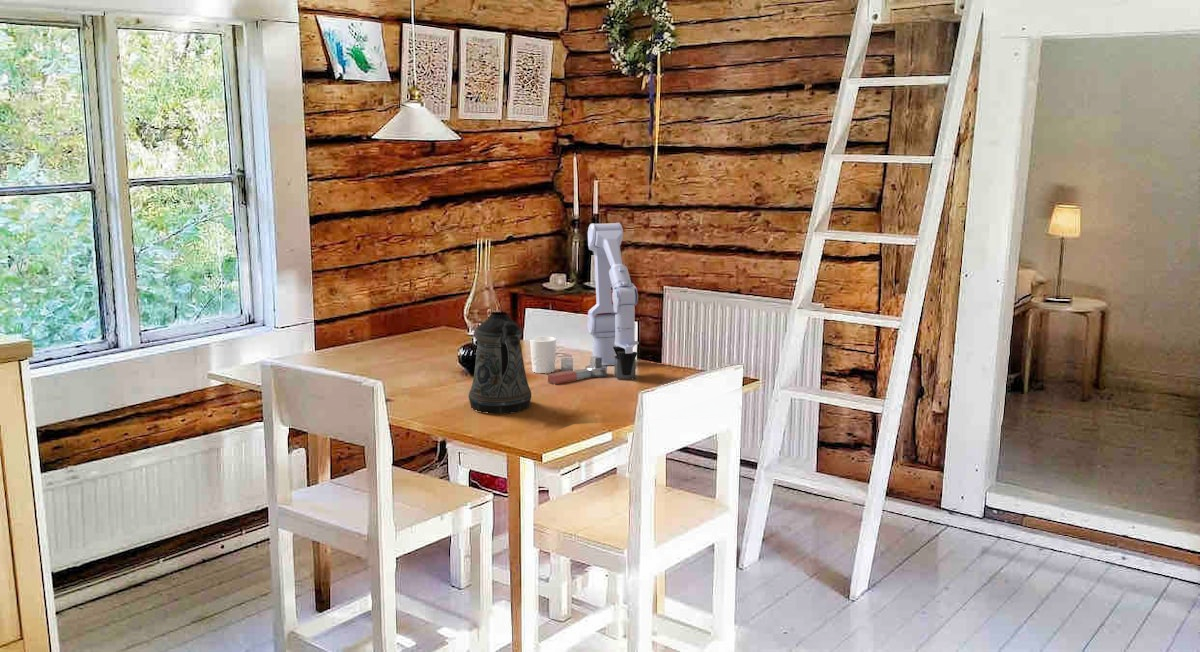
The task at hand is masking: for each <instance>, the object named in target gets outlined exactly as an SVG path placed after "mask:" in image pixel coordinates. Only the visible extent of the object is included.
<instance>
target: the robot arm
mask: <svg viewBox="0 0 1200 652" xmlns="http://www.w3.org/2000/svg"><path fill="white" fill-rule="evenodd" d="M587 229H588V230H587V246H588V250H589V251H592V252H593V258H594V278H595V298H596V299H595V300H596V301H595V302H596V304H595V305H593V306H592V307H591V308H590V309H589V310H588V311H587V320H586V322H587V323H586V325H587V331H588V333H589V334H590V335H591V336H592V357H594V356H598V357H602V365H604V366H614V356H619V358H620V361H621V366H622V372H623V375H631V371H632V366H633V362H634V359H636V357H637V355H638V352H637V351H633V348H634V347H635V346H637V345H639V342H640V341H637V340H635V338H636V337H635V335H636V334H635V333H636V329H635V324H636V323H635V322H636V321H635V320H636V319H635V317H636V316H635V313H636V312H635V309H636V308H635V306H637V304H638V302H639V293H638V288H637V287H636V285H635V284H634V283H632V280H631V276H630V273H629V270H628V266H626V265H624V263H623V258H622V253H621V247H620V246H621V245H622V242H623V237H624V228H623V226H622V224H621V222H616V223H615V222H613V223H608V222H607V223H594V222H593V223H590V224H589V226H588V228H587Z"/></svg>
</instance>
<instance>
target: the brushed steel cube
mask: <svg viewBox="0 0 1200 652" xmlns="http://www.w3.org/2000/svg"><path fill="white" fill-rule="evenodd" d="M636 365H637V364H636V358H635V359H634V362H633V366H632V371H631V375H623V372H622V366H621V361H620V358H619V356H614V365H613V370H614V371H613V372H614V374H613V375H615V376H614V377H615V378H617V379H624V380H636V373H637V372H636V371H637V368H636ZM632 378H633V379H632ZM617 379H616V380H617Z"/></svg>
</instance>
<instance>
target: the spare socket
mask: <svg viewBox="0 0 1200 652" xmlns="http://www.w3.org/2000/svg"><path fill="white" fill-rule="evenodd" d="M560 362H561V363H560V370H561V371H560V372H563V371H569V370H571V371H574V359H573V358H572V357H562V358H561V359H560Z"/></svg>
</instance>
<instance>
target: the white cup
mask: <svg viewBox="0 0 1200 652" xmlns="http://www.w3.org/2000/svg"><path fill="white" fill-rule="evenodd" d="M529 344H530V345H529V346H530V347H529V348H530V360H531V369H532V370H531V371H532V372H533V373H534V372H535V374H540V373H545V374H552V373H555V370H556V364H555V363H556V355H557V354H556V352H557V348H556V347H557V339H556V338H555V337H553V336H534V337H532V338H530V339H529ZM551 372H552V373H551Z"/></svg>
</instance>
